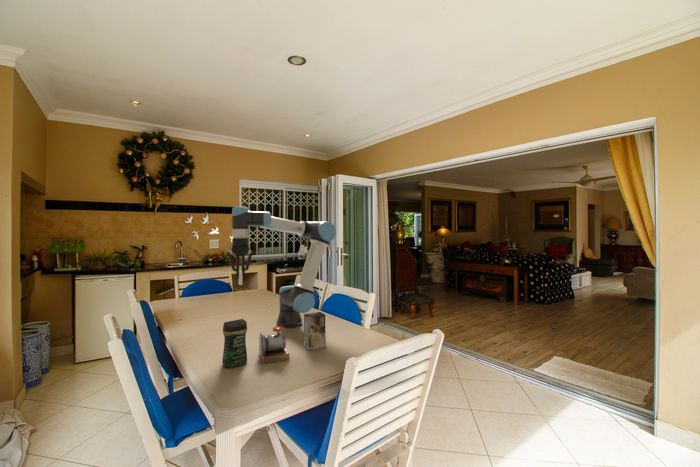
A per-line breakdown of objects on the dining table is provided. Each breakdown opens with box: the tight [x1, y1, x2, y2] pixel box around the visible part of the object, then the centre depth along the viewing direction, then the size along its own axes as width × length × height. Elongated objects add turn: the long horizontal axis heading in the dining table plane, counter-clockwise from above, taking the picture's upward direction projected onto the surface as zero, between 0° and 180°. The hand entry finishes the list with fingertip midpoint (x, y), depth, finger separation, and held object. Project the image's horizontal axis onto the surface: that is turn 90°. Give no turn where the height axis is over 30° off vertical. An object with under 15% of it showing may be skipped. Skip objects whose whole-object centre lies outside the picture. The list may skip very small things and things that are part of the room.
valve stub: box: [258, 325, 290, 365], centre depth 142 cm, size 11×12×13 cm
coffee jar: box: [222, 318, 248, 369], centre depth 135 cm, size 10×8×19 cm
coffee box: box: [303, 311, 327, 351], centre depth 154 cm, size 9×6×16 cm
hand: (240, 284), depth 159 cm, fingers closed
